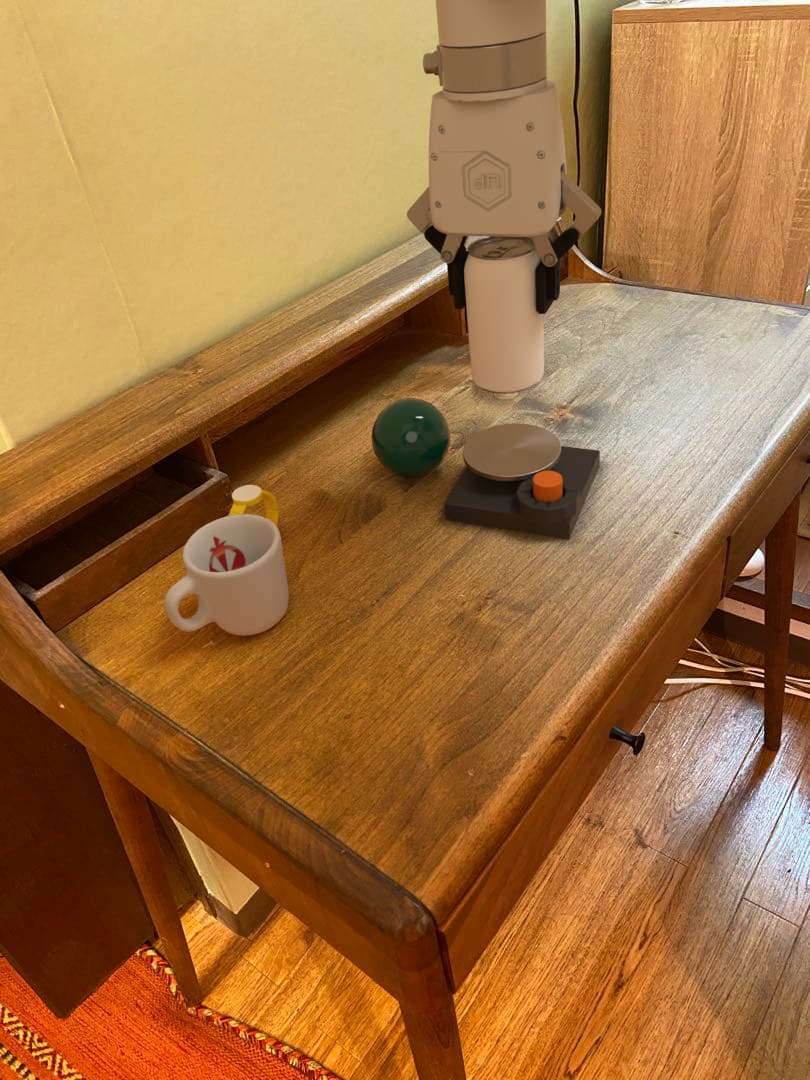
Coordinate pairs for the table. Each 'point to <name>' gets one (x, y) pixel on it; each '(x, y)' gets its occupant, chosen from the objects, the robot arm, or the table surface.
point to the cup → (233, 576)
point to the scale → (526, 498)
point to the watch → (254, 501)
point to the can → (504, 314)
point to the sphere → (410, 438)
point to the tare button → (547, 486)
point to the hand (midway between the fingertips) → (504, 303)
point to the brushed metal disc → (511, 452)
